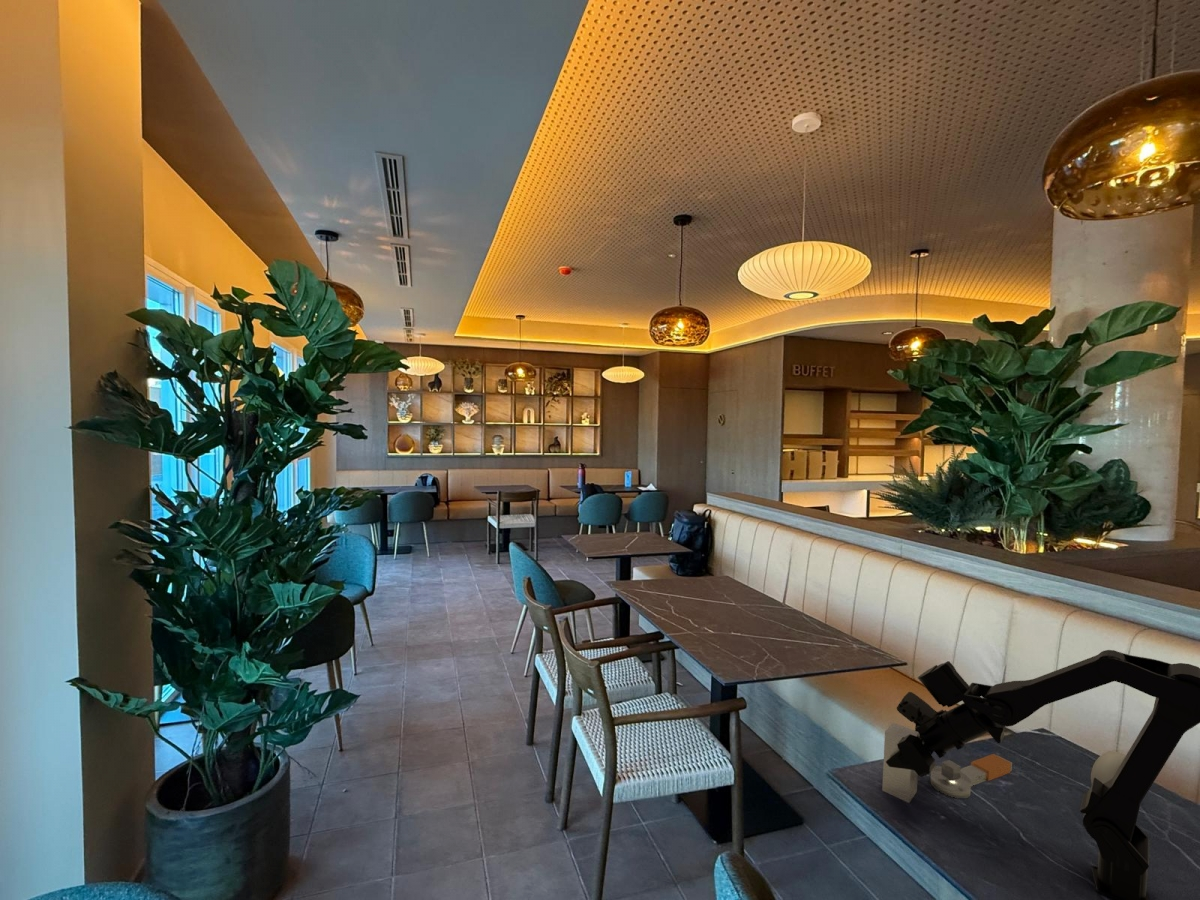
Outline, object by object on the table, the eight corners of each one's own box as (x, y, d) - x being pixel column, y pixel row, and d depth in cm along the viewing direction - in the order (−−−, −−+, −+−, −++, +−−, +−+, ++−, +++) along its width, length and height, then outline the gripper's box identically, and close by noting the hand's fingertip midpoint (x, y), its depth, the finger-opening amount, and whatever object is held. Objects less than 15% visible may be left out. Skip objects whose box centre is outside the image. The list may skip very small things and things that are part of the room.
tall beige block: (916, 791, 112) (919, 732, 112) (909, 802, 108) (911, 741, 108) (890, 780, 115) (893, 722, 115) (882, 790, 112) (884, 731, 112)
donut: (1104, 810, 108) (1107, 760, 108) (1085, 798, 111) (1087, 750, 111) (1139, 802, 111) (1142, 754, 110) (1119, 791, 114) (1122, 744, 114)
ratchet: (956, 802, 109) (957, 778, 109) (923, 781, 115) (924, 758, 115) (1021, 776, 118) (1023, 753, 118) (987, 758, 125) (988, 736, 125)
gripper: (939, 673, 115) (881, 704, 123) (911, 701, 102) (848, 735, 110) (982, 724, 110) (918, 754, 118) (958, 761, 97) (889, 792, 105)
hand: (893, 757), depth 113 cm, fingers open, 7 cm apart
